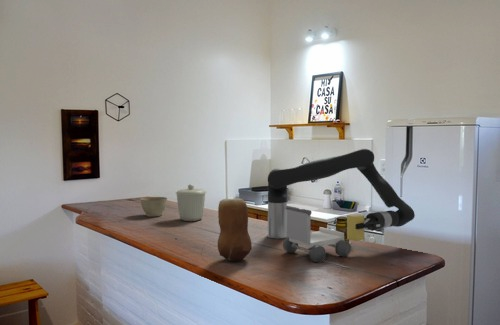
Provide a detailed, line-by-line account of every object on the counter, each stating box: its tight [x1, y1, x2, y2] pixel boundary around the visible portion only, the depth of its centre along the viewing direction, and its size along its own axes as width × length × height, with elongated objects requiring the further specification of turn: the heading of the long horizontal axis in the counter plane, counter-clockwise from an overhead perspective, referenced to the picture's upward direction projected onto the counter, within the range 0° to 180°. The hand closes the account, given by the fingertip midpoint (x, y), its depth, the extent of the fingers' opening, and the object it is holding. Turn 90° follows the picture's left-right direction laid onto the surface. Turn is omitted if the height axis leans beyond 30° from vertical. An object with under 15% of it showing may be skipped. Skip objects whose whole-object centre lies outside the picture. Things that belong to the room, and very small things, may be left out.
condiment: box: [334, 216, 352, 245], centre depth 199 cm, size 7×8×12 cm
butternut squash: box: [216, 198, 253, 263], centre depth 172 cm, size 14×13×25 cm
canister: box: [175, 183, 207, 222], centre depth 257 cm, size 18×18×21 cm
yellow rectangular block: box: [346, 213, 365, 242], centre depth 181 cm, size 5×5×10 cm
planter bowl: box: [140, 196, 168, 218], centre depth 271 cm, size 16×16×11 cm
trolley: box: [282, 205, 352, 264], centre depth 180 cm, size 21×19×20 cm
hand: (351, 225), depth 180 cm, fingers closed on yellow rectangular block, 5 cm apart
